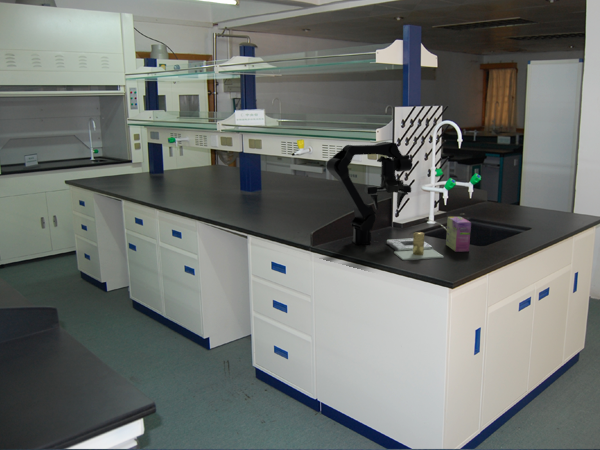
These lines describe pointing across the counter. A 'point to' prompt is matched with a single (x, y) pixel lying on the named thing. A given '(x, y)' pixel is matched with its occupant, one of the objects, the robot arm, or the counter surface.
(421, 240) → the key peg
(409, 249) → the white marble square slab
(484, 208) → the counter surface
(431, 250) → the mat
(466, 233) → the box
